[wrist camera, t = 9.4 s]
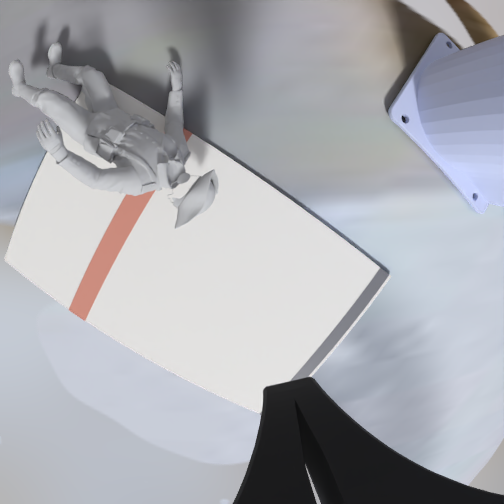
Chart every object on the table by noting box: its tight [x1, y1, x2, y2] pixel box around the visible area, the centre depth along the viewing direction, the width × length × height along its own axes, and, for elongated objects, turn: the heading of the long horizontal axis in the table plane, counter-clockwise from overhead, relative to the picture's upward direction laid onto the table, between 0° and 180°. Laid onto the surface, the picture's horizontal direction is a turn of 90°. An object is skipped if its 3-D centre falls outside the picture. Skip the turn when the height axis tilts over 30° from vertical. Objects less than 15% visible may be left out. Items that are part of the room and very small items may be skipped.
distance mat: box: [4, 83, 391, 415], centre depth 17 cm, size 20×12×1 cm, turn 55°
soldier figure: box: [9, 42, 219, 229], centre depth 12 cm, size 8×5×12 cm
